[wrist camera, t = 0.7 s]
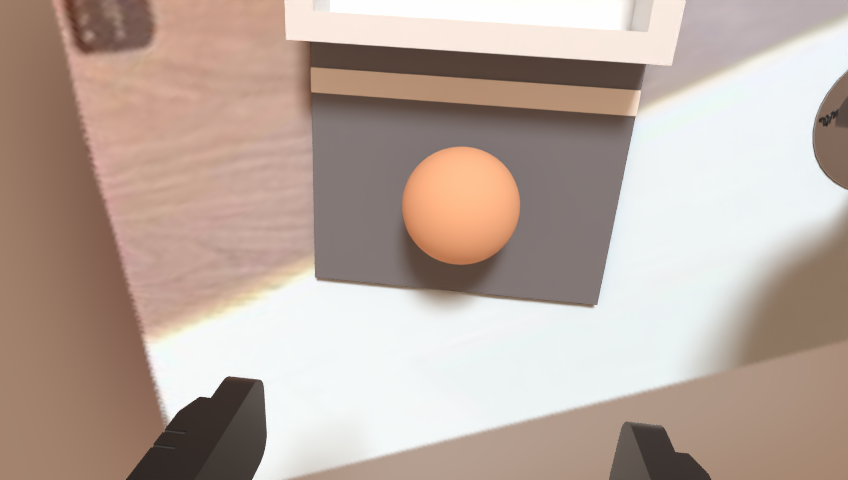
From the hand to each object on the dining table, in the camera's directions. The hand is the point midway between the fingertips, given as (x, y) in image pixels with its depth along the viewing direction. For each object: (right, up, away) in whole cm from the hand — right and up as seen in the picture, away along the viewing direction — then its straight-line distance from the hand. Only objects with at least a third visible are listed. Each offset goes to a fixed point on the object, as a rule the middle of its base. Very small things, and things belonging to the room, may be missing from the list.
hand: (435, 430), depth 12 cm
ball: (+2, +6, +14) cm, 15 cm away
